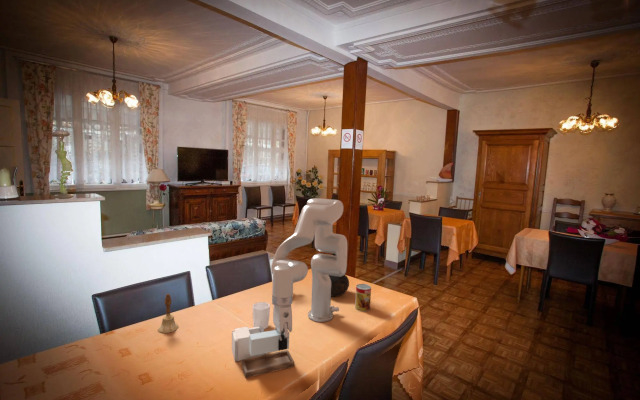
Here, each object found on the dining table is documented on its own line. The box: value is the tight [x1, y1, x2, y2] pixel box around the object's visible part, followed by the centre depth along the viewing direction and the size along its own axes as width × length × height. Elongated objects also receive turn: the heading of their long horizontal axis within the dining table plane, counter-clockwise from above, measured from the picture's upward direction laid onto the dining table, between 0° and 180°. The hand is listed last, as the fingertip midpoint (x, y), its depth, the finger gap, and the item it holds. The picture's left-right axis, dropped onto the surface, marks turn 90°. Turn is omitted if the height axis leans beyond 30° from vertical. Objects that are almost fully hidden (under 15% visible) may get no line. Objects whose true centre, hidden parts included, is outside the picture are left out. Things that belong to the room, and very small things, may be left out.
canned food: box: [354, 283, 372, 312], centre depth 166 cm, size 8×8×12 cm
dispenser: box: [231, 326, 267, 362], centre depth 123 cm, size 12×8×9 cm, turn 113°
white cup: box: [252, 301, 271, 330], centre depth 143 cm, size 8×8×10 cm
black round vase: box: [329, 253, 350, 297], centre depth 184 cm, size 18×18×28 cm
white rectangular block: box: [249, 329, 290, 356], centre depth 115 cm, size 14×4×6 cm, turn 113°
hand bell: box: [157, 293, 179, 334], centre depth 138 cm, size 8×8×16 cm
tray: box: [240, 349, 295, 379], centre depth 116 cm, size 18×8×2 cm, turn 113°
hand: (280, 345), depth 117 cm, fingers closed on white rectangular block, 4 cm apart
